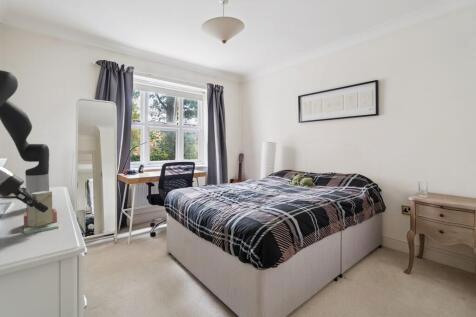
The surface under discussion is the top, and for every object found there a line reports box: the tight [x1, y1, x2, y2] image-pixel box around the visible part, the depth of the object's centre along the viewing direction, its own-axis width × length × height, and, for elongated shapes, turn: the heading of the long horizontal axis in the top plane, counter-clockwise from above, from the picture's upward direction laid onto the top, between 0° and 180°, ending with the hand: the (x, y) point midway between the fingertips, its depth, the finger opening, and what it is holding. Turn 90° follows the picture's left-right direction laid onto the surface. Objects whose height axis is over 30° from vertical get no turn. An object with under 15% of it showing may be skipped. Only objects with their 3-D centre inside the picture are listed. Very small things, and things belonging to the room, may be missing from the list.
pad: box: [23, 222, 60, 235], centre depth 90 cm, size 6×10×1 cm, turn 132°
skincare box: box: [27, 190, 53, 226], centre depth 89 cm, size 6×4×12 cm
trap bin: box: [23, 208, 58, 229], centre depth 95 cm, size 7×10×5 cm
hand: (45, 208), depth 91 cm, fingers closed on skincare box, 7 cm apart
